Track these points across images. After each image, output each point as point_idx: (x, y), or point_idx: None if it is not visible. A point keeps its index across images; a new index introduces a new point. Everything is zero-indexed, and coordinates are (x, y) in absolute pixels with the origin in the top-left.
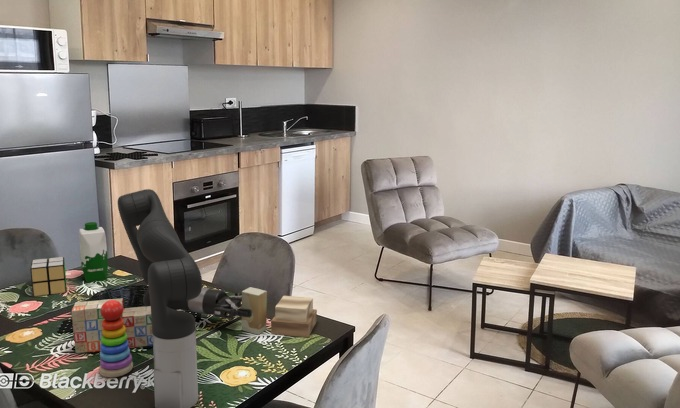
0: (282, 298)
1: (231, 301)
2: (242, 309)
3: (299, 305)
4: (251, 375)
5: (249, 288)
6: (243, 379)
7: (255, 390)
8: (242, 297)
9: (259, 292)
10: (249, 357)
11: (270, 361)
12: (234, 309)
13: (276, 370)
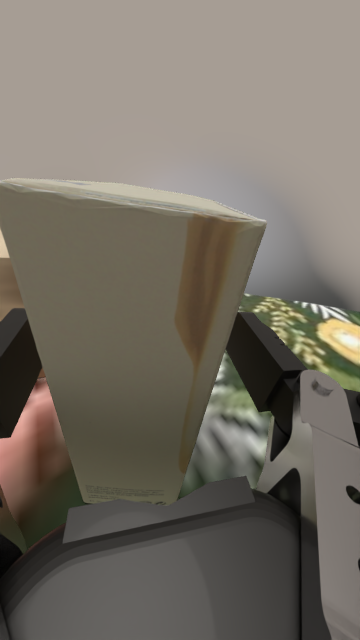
0: (5, 256)
1: (320, 577)
2: (279, 345)
3: None
4: (334, 327)
5: (97, 186)
6: (356, 331)
7: (347, 311)
8: (232, 315)
9: (166, 191)
10: (302, 354)
11: (271, 319)
12: (341, 395)
13: (282, 306)
